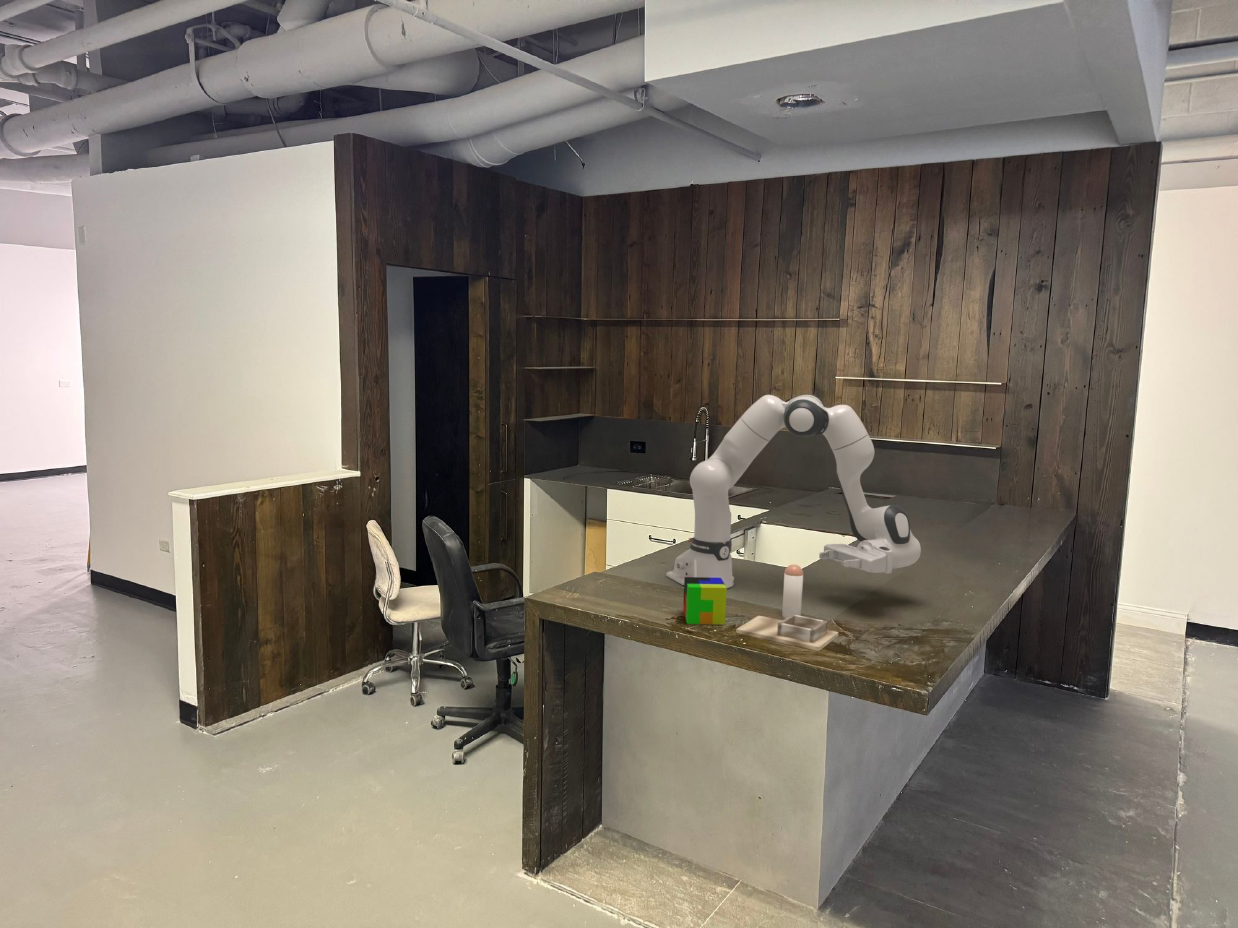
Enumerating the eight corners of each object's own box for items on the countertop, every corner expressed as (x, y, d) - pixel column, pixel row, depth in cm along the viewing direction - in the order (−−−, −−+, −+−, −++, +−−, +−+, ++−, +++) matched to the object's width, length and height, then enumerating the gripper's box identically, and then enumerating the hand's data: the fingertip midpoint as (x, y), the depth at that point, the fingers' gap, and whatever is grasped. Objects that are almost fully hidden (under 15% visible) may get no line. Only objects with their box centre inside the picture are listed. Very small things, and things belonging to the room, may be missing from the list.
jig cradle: (736, 632, 218) (736, 617, 218) (758, 619, 230) (759, 604, 230) (818, 651, 207) (819, 635, 206) (838, 635, 218) (839, 620, 218)
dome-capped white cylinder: (778, 615, 234) (781, 563, 232) (791, 612, 237) (794, 561, 235) (791, 620, 230) (794, 567, 228) (804, 617, 233) (807, 565, 231)
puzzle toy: (719, 612, 235) (720, 577, 233) (725, 624, 225) (726, 587, 224) (683, 612, 234) (684, 576, 233) (687, 624, 225) (688, 587, 223)
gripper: (847, 537, 251) (808, 541, 245) (896, 552, 233) (856, 556, 227) (846, 558, 252) (807, 562, 246) (895, 574, 233) (855, 579, 228)
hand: (831, 559), depth 236 cm, fingers open, 8 cm apart
